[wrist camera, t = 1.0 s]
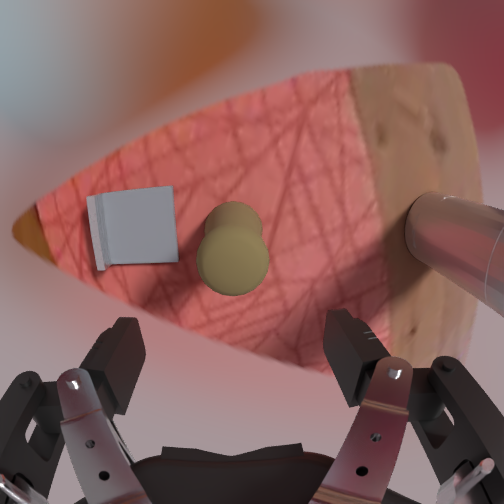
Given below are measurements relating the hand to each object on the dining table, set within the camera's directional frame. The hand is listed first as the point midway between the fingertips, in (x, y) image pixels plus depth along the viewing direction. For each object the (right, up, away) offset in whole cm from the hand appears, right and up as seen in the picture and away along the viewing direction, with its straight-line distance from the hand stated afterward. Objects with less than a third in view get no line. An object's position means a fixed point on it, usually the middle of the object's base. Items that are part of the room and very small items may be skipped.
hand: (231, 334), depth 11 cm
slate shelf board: (-11, +6, +17) cm, 21 cm away
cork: (-1, +6, +18) cm, 19 cm away
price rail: (-16, +6, +16) cm, 23 cm away
